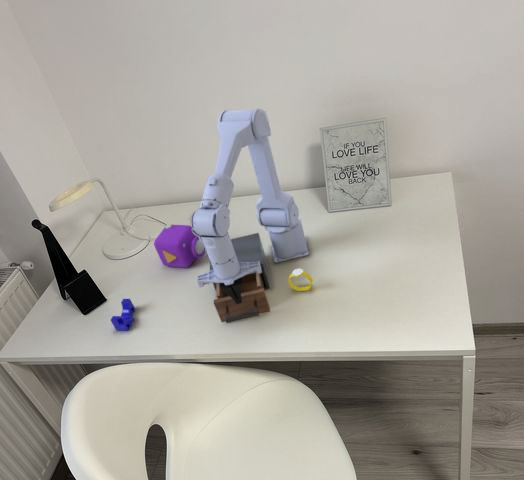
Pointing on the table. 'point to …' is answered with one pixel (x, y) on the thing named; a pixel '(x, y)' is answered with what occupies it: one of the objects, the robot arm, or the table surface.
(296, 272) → the watch
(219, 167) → the robot arm
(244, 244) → the cabinet
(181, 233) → the toy camera
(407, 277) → the table surface
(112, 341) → the table surface
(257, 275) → the drawer
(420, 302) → the table surface
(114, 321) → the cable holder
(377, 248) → the table surface
